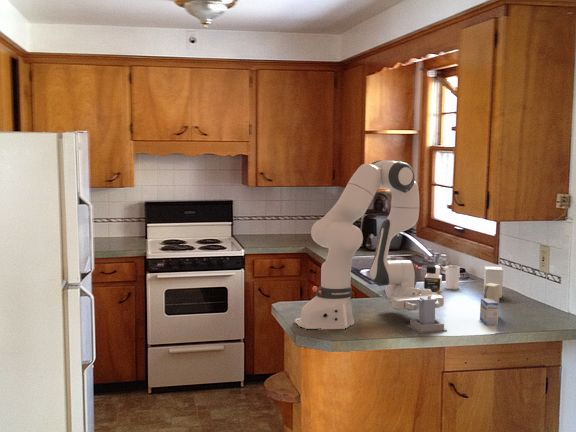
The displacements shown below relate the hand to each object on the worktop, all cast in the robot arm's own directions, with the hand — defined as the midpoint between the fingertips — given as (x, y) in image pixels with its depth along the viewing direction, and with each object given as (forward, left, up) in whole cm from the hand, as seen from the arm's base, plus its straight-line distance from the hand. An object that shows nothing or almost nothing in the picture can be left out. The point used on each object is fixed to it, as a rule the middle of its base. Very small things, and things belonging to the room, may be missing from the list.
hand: (426, 306), depth 262 cm
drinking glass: (+44, +59, -8) cm, 75 cm away
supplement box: (+53, +39, -8) cm, 67 cm away
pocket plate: (0, -2, -8) cm, 8 cm away
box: (+32, +7, -8) cm, 34 cm away
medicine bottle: (+32, +55, -8) cm, 65 cm away
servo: (0, -2, -8) cm, 8 cm away
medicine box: (+26, -1, -8) cm, 27 cm away
